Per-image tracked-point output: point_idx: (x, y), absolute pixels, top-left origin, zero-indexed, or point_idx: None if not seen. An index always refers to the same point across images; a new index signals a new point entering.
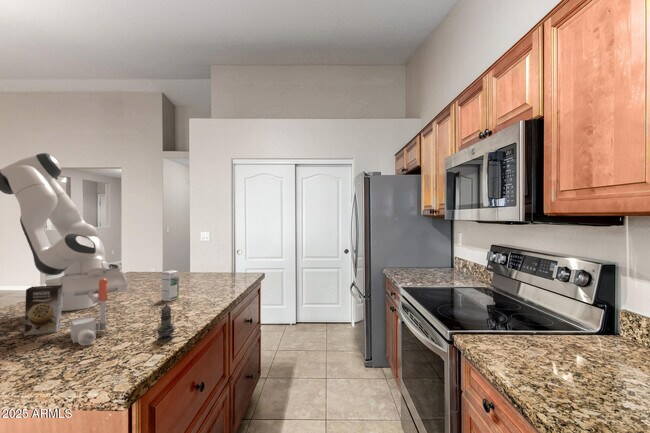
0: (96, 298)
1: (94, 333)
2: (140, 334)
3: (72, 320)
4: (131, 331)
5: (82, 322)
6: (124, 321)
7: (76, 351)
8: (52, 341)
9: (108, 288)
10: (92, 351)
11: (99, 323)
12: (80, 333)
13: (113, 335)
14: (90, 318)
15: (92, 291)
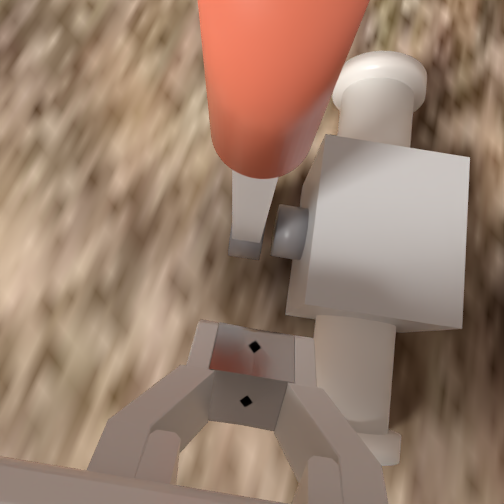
0: (274, 352)
1: (348, 61)
2: (98, 60)
3: (455, 297)
4: (104, 153)
5: (407, 173)
6: (15, 439)
7: (422, 63)
8: (492, 336)
9: (15, 465)
10: (367, 6)
11: (260, 248)
12: (409, 134)
13: (209, 164)
14: (332, 247)
15: (325, 491)
